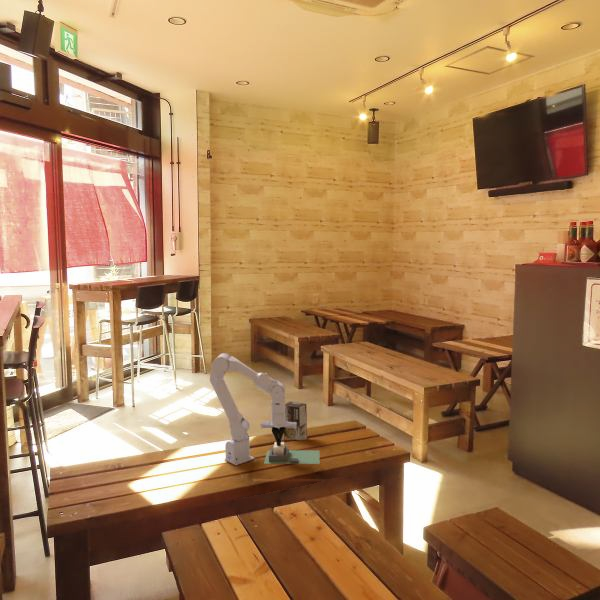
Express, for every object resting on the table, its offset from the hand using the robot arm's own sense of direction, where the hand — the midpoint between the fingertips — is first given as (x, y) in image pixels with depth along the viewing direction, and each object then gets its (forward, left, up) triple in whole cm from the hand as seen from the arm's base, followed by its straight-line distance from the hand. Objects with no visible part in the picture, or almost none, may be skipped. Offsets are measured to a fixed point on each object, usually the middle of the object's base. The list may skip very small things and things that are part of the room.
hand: (278, 445), depth 202 cm
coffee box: (+21, +13, -6) cm, 25 cm away
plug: (0, 0, -5) cm, 5 cm away
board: (+4, -4, -6) cm, 8 cm away
